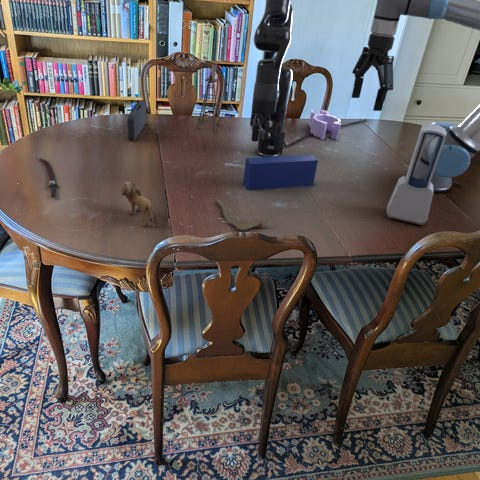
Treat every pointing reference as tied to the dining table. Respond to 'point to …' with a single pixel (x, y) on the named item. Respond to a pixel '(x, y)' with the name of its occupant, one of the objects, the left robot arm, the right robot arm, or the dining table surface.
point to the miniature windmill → (210, 80)
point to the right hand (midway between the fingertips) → (365, 103)
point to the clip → (324, 124)
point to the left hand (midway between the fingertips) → (259, 145)
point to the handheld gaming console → (136, 120)
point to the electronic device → (416, 183)
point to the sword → (52, 181)
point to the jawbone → (237, 221)
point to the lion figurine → (137, 201)
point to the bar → (279, 171)
